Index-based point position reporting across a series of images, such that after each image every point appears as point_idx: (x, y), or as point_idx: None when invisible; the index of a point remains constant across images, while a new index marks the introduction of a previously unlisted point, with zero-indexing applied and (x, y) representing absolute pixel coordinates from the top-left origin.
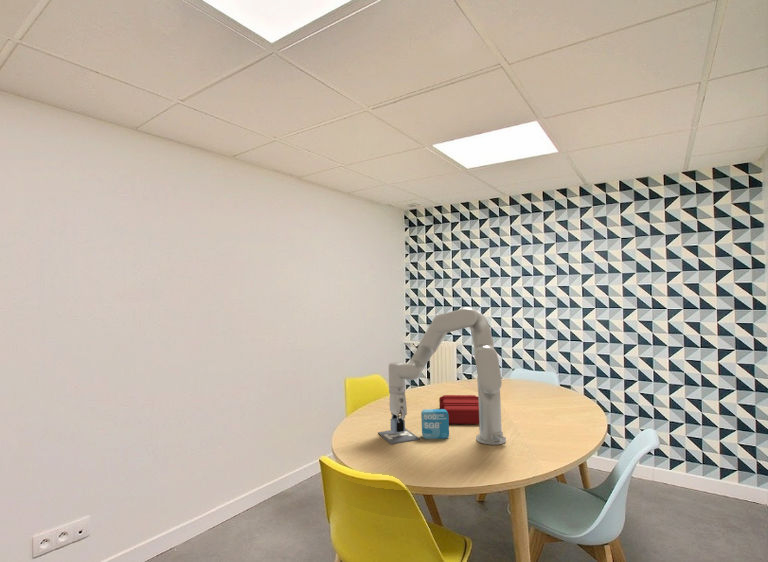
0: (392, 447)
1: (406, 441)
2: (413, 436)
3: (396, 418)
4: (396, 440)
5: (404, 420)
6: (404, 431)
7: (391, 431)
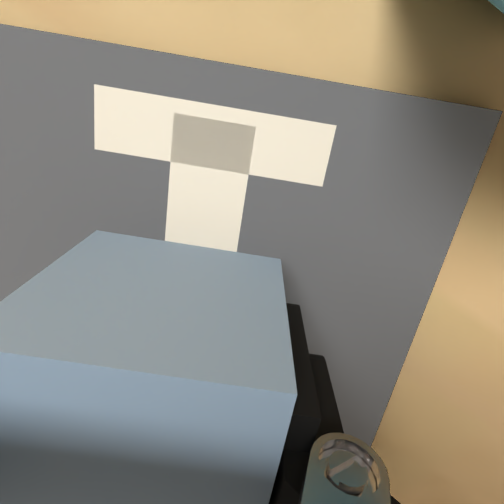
0: (432, 466)
1: (420, 303)
2: (372, 144)
3: (13, 466)
4: (342, 388)
5: (292, 396)
6: (280, 267)
7: (20, 280)
